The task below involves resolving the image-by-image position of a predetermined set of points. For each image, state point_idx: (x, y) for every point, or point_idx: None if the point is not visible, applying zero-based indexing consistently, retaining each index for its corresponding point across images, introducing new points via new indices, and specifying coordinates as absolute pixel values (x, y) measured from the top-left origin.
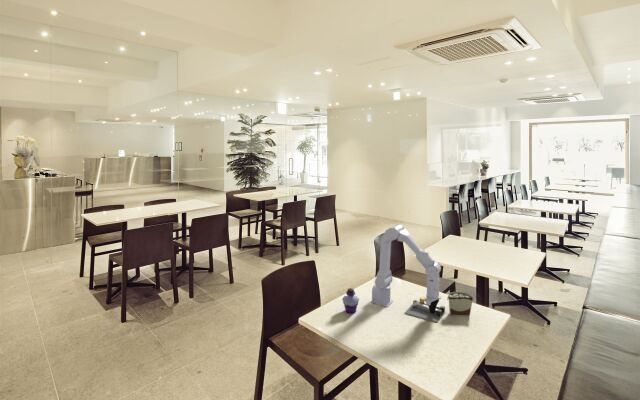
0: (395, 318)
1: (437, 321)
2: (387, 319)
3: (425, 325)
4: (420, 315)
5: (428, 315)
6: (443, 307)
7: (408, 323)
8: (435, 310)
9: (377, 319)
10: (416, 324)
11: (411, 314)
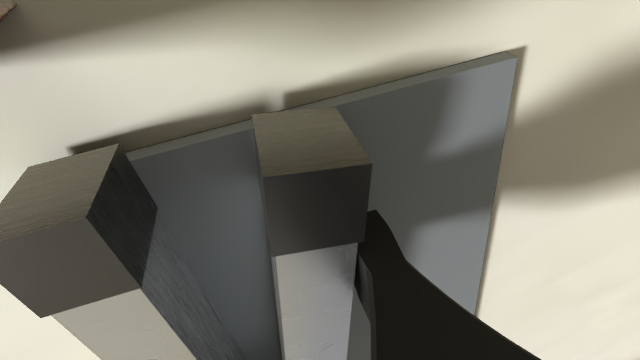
0: (567, 326)
1: (483, 61)
2: (598, 335)
3: (630, 121)
4: (446, 275)
5: (394, 234)
6: (59, 248)
7: (623, 241)
8: (352, 253)
9: (613, 353)
10: (627, 193)
11: None
